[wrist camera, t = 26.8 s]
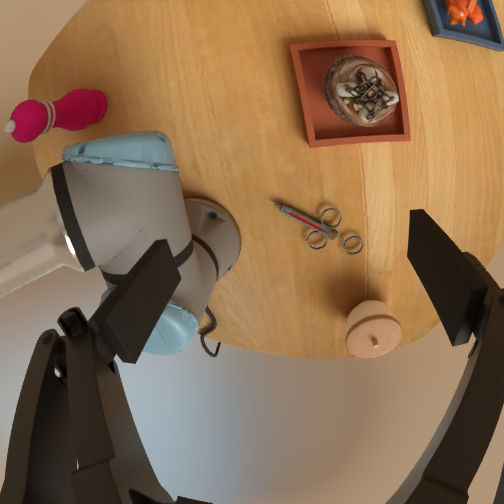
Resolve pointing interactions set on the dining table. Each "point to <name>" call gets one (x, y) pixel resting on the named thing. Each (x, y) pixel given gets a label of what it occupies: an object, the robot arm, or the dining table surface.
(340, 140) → the terracotta tray
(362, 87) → the cupcake
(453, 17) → the orange toy bird
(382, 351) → the trinket box
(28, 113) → the pepper mill
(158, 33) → the dining table surface
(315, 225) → the syringe
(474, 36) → the blue tray
